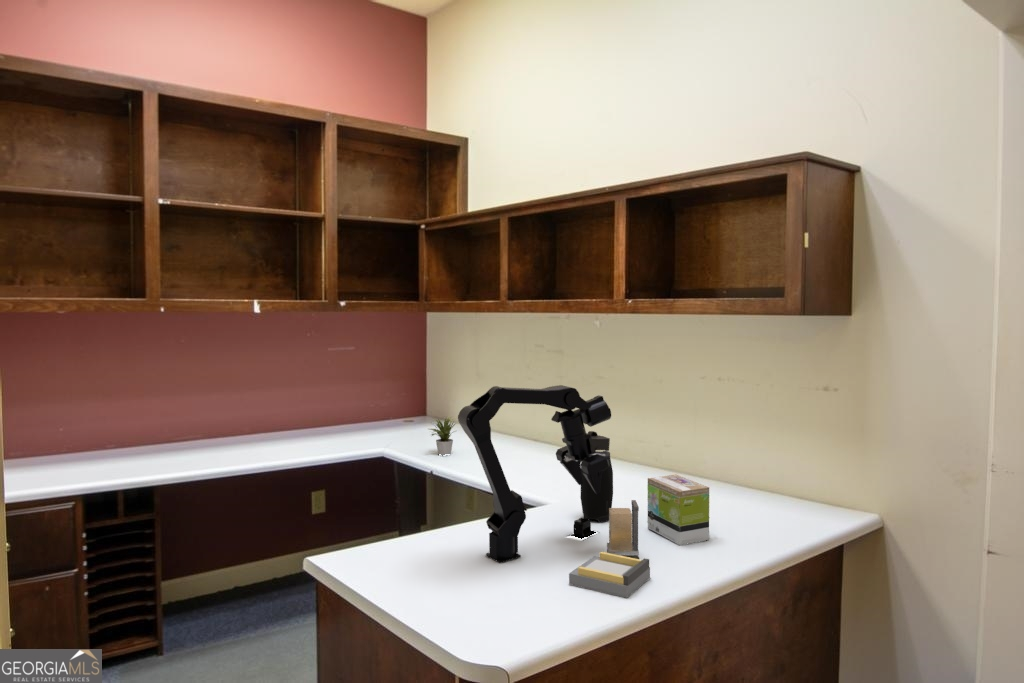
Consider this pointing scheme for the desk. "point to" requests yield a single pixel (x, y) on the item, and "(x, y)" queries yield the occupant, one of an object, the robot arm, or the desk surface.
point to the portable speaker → (598, 494)
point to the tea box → (678, 509)
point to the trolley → (623, 531)
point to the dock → (611, 574)
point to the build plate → (582, 528)
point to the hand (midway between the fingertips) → (589, 488)
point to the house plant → (444, 437)
